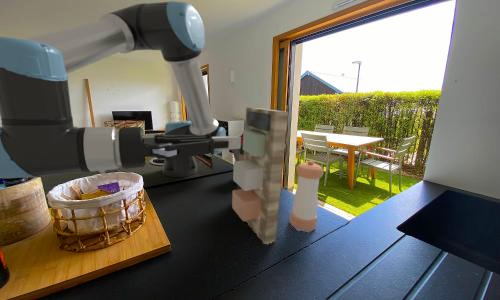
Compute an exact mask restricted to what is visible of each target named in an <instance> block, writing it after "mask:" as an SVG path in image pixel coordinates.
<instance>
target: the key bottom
mask: <svg viewBox="0 0 500 300" xmlns="http://www.w3.org/2000/svg"><path fill="white" fill-rule="evenodd" d="M231 197H232V200H231V203H232V204H231V209H233V211H234V212H235V213H236V215H238V217H239V218H240V219H241V220H242V222H246V221H247V220H251V219H255V218H259V217H260V211H261V198H260V197H259V196H258V195H257V194H255V193H254V192H253V191H252V190H247V191H244V190H243V189H239V190H238V189H233V190H232V196H231Z"/></svg>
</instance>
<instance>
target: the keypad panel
mask: <svg viewBox="0 0 500 300" xmlns="http://www.w3.org/2000/svg"><path fill="white" fill-rule="evenodd" d="M288 118H289V111H285V110H278V109H268V108H263V107H262V108H259V107H245V124H244V125H245V126H244V128H245V129H244V130H256V131H259V132H262V133H265V134H266V145H265V156H260V157H255V156H253V155H252V154H250V153H248V152H246V151H244V161H245V160H252V161H254V162H255V163H257V164H259V165H260V166H262V167H264V172H263V185H262V188H259V189H253V190H252V191H253V192H254V193H255V194H257V195H258V196H259V197H260V198H261V211H260V217H259V218H255V219H251V220H247V221H245V222H247V223H248V224H247V225H248V226H249V227H250V228H252V229H251V230H252V231H253V232H254V233H256V234H257V235H256V234H255V235H256V236H257V238H259V239H261V240H262V241H263V242H262V241H261V240H260V241H261V242H262V244H263V245H264V244H267V245H270V244H273V243H275V242H276V238H277V227H278V219H279V218H278V216H279V207H280V200H281V199H280V198H281V187H282V179H283V177H282V176H283V169H284V168H283V167H284V157H285V147H286V139H287V128H288V127H287V126H288ZM274 241H275V242H274ZM272 242H273V243H272ZM269 243H270V244H269Z"/></svg>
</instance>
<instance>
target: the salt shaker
mask: <svg viewBox="0 0 500 300" xmlns="http://www.w3.org/2000/svg"><path fill="white" fill-rule="evenodd" d="M295 171H296V173H297V175H298V176H297V177H298V178H297V186H296V190H295V193H294V197H293V203H292V209H291V211H290V215H289V216H290V218H289V219H290V220H289V224H290V223H291V225H292V226H294V227H295V228H297V229H299V230H304V231H311V230H313V229H315V230H316V228H317V221H318V216H317V213H318V211H317V210H318V206H319V202H318V201H319V197H318V192H319V183H320V179H321V178H322V177H323V175H324V169H323V168H322V166H321V165H320V164H318V163H315V162H314V161H313V160H307V161H306V162H300V163H299V164H298V165H297V166H296V170H295ZM291 225H290V226H291ZM292 226H291V227H292ZM315 227H316V228H315Z"/></svg>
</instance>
